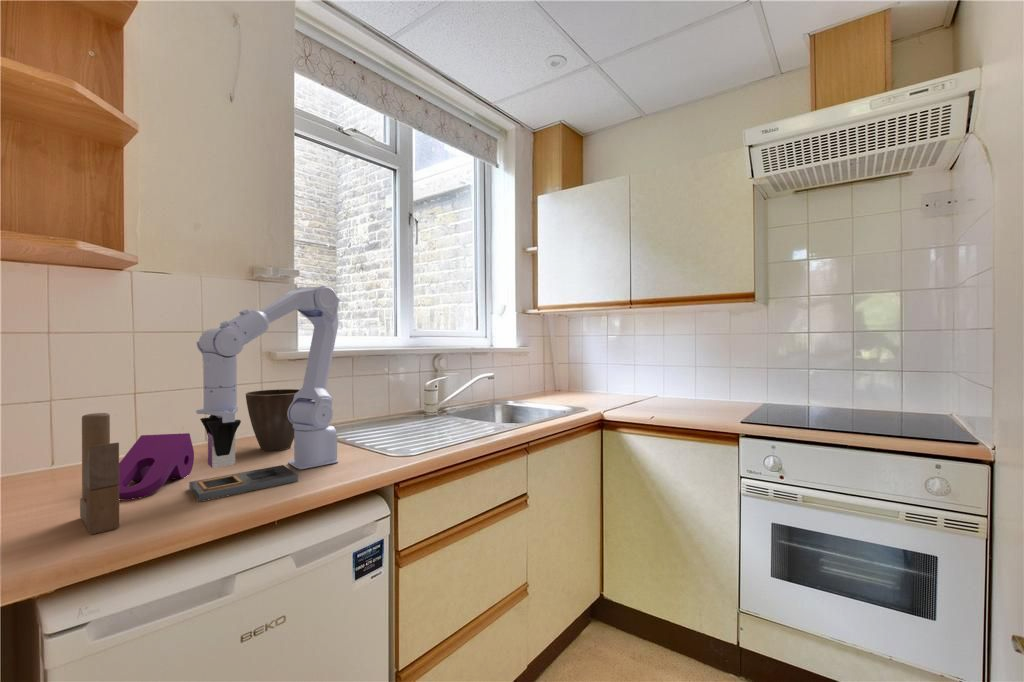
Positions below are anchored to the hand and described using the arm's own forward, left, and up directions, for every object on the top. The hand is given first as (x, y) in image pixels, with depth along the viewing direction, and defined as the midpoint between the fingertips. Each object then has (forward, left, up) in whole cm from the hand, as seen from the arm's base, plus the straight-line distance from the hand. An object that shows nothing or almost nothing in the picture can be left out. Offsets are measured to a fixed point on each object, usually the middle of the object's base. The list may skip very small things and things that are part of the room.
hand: (220, 453), depth 93 cm
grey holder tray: (-5, 0, -8) cm, 9 cm away
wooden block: (+18, +5, -8) cm, 21 cm away
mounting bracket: (+10, -14, -8) cm, 19 cm away
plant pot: (-20, -30, -8) cm, 37 cm away
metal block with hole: (0, 0, -2) cm, 2 cm away
